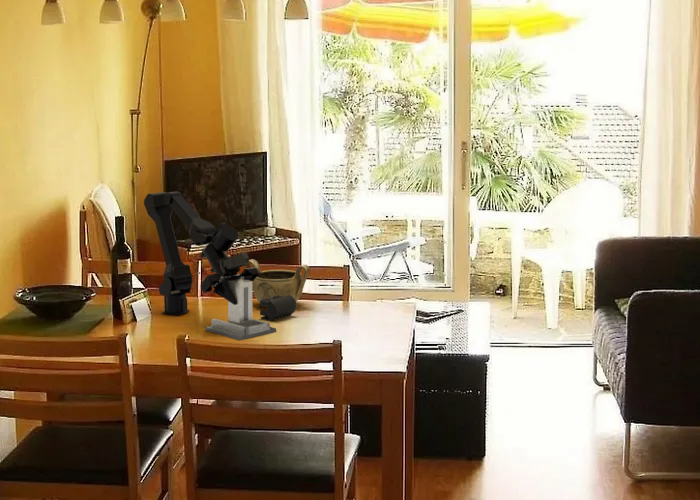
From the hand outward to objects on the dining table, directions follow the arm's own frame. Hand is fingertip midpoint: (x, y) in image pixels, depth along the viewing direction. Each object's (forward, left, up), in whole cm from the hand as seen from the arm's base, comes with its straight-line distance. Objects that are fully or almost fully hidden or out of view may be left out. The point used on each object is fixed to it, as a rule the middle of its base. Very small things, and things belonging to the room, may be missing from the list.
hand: (243, 302), depth 301 cm
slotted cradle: (-1, +1, -9) cm, 9 cm away
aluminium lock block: (-1, 0, -7) cm, 7 cm away
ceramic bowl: (-5, +34, -9) cm, 35 cm away
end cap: (+2, +20, -9) cm, 22 cm away
